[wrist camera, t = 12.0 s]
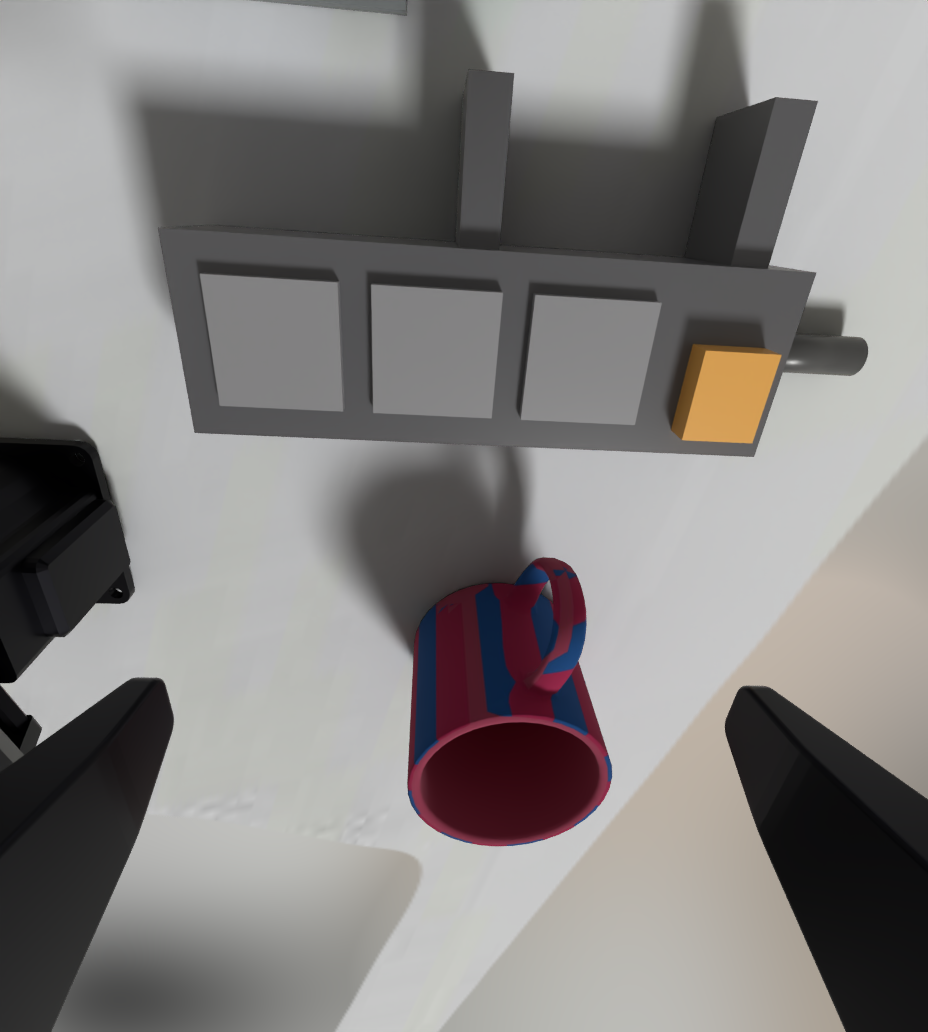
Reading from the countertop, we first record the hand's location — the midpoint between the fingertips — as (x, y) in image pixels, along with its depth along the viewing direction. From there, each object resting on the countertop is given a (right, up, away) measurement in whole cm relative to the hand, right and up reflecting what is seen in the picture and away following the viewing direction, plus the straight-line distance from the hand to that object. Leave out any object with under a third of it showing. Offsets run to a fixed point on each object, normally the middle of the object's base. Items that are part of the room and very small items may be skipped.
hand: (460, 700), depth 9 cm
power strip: (+3, +10, +8) cm, 13 cm away
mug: (+2, -1, +15) cm, 15 cm away
